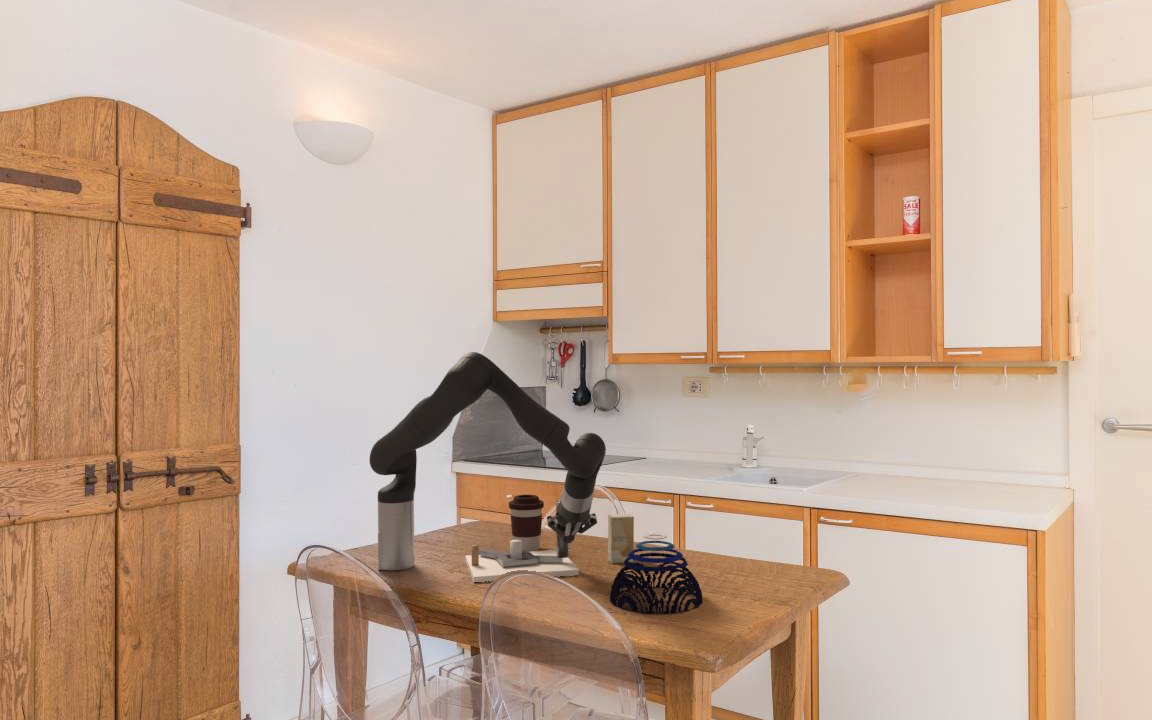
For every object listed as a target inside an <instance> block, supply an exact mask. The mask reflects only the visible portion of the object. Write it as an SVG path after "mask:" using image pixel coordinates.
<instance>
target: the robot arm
mask: <svg viewBox="0 0 1152 720" xmlns="http://www.w3.org/2000/svg"><path fill="white" fill-rule="evenodd" d="M487 390H488V391H491V392H492V393H494V394H495V395H497V396H498V397H499V398H500V399H501V400H502V401H503V402H504V403H505V404H506V406H507V407H508V409H509V411H510V412H511V414H512V415H513V418H514V420H515V421H516V423H517V424H518V426H519V427H520V428H521V430H522V431H524V432H525V433H526V434H527V435H528V436H529V437H531V438H533V439H534V440H535V441H537V442H538V443H540V444H541V445H543V446H544V447H546V448H547V449H548V450H549V451H550V452H551V453H552V454H553V456H554V457H555V458H556V459H557V461H558V462H559V463H560V464H561V465H562V466H563V467H564V468H565V470H567V473H566V476H565V481H564V485H563V488H562V490H561V494H560V500H559V501H560V505H559V510H558V512H557V513H555V515H554V516H552V515H548V516H547V517H546V521H547V526H548V528H550V529H551V530H552V531H553V532H555V534H556V535H557V534H559V535H562V534H563V535H562V537H563V541H564V542H565V543H568V544H571V543H572V542H573V541H575V537H576V535H577V534H583V533H585V532H587V531H588V530H589V529H591V528H592V527H594V526H596V525H597V524H598V519H597V515H596V513H591V508H592V503H593V499H594V490H595V486H596V482H597V477H598V474H599V472H600V469H601V467H602V464H603V461H604V459H605V456H606V452H607V448H606V444H605V442H604V440H603V438H602V437H601V436H600V435H598V434H596V433H594V432H593V433H592V432H587V433H586V432H585V433H583V434H582V435H581V436H579V437H578V438H577V440H576V441H575V443H574V444H573V445H572V443H571V441H570V440H569V438H568V436H569V433H570V429H571V428H570V425H569V424H568V423H567V422H565V421H564V420H563V419H561V418H560V417H559V416H557V415H555V414H554V413H552V412H551V411H550V410H548V409H547V408H545V407H544V406H543V405H541V404H540V403H538V402H537V401H536V400H534V398H532V397H531V396H530V395H529V394H527V392H526V391H524V390H523V389H522V388H521V387H520V386H519V385H518V384H517V383H516V382H515V381H514V380H513V379H512V378H511V377H510V376H508V374H506V373H505V372H504V371H503V370H502V369H501V367H498V365H496V363H495V362H493V361H492V360H491V359H490V358H488V357H487V356H485V355H484V354H482V353H479V352H476V351H469V352H467V353H464V354H463V355H462V356H461V357H460V358H459V359H458V361H457V362H456V363H455V364H454V365H453V366H452V367H451V368H450V369H449V370H448V371H447V373H445V376H444V377H443V379H442V380H441V382H440V383H439V385H438V386H437V388H436V389H435V390H434V392H433V393H432V394H431V395H429V396H427V397H425V398H423V399H421V400H420V401H419V402H418V403H417V404H415V405H414V407H413V408H412V409H411V410H410V411H409V412H408V413H407V415H406V416H405V417H403V419H402V420H401V421H400V422H399V423H397V425H395V427H394V428H393V429H391V430H390V431H389V432H388V433H386V434H385V435H384V436H382V437H381V438H380V439H378V440H377V441H376V442H375V443H374V444H373V446H372V448H371V451H370V452H369V453H370V454H369V465H370V468H371V469H372V471H373V472H374V473H376V474H377V475H380V476H392V475H395V477H394V478H393V480H391V482H390V483H389V484H387V485H385V486H383V487H382V488H380V489H379V490H378V492H377V557H378V558H377V570H379V571H380V570H381V571H382V570H384V571H399V570H402V571H403V570H406V569H410V568H413V567H414V566H415V565H416V564H415V563H416V562H415V560H416V559H415V557H416V556H415V492H416V488H417V487H416V484H417V466H418V465H417V461H418V460H417V459H418V458H417V450H418V449H421V448H423V447H424V446H427V445H429V444H430V443H432V442H434V441H435V440H436V439H438V438H439V437H440V436H441V435H442V434H443V433H444V432H445V431H446V430H447V429H448V427H449V426H450V425H451V424H452V422H453V420H454V418H455V417H456V416H457V415H458V414H460V413H461V412H462V411H464V410H465V409H466V408H468V407H470V406H471V405H473V404H475V402H477V401H478V400H479V399H480V398H482V396H483V395H485V392H487ZM559 522H560V523H561V524H562V525H563V526H562V525H561V524H560V523H559Z"/></svg>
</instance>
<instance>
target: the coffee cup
mask: <svg viewBox="0 0 1152 720" xmlns="http://www.w3.org/2000/svg"><path fill="white" fill-rule="evenodd" d="M544 503H545V502H544V500H542V499H540V498H539V496H538V495H537V494H518V495H515V496H514V497H513V500H510V501H508V508H509V509H510V525H511V527H510V528H511V535H512V540H521V541H522V551H539V549H540V548H541V547H540V546H541V544H540V543H541V534H542V522H543V514H542V509H543V508H544V507H545V504H544Z"/></svg>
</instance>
